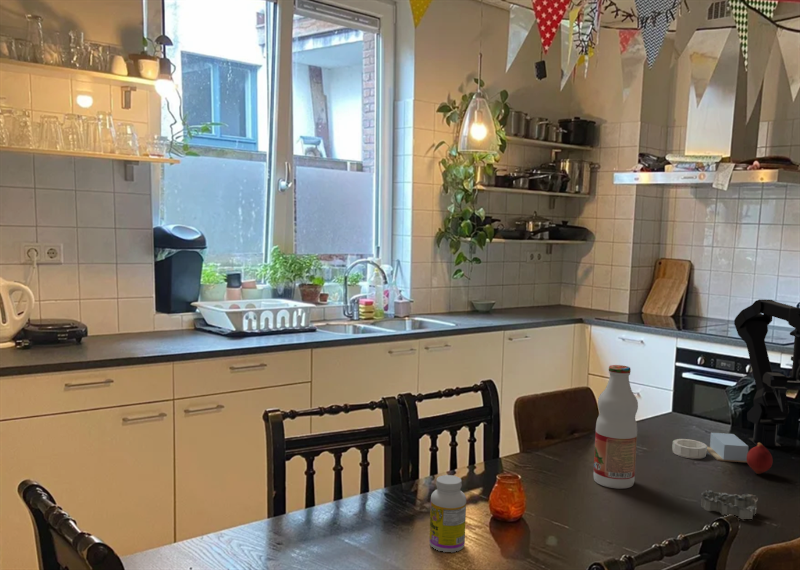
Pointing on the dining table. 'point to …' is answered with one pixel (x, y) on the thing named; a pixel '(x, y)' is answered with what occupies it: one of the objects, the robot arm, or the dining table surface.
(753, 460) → the onion
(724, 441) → the light blue block
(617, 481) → the fruit juice
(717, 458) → the mat
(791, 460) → the dining table surface
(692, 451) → the bowl
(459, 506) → the supplement bottle
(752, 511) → the egg carton
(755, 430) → the robot arm
